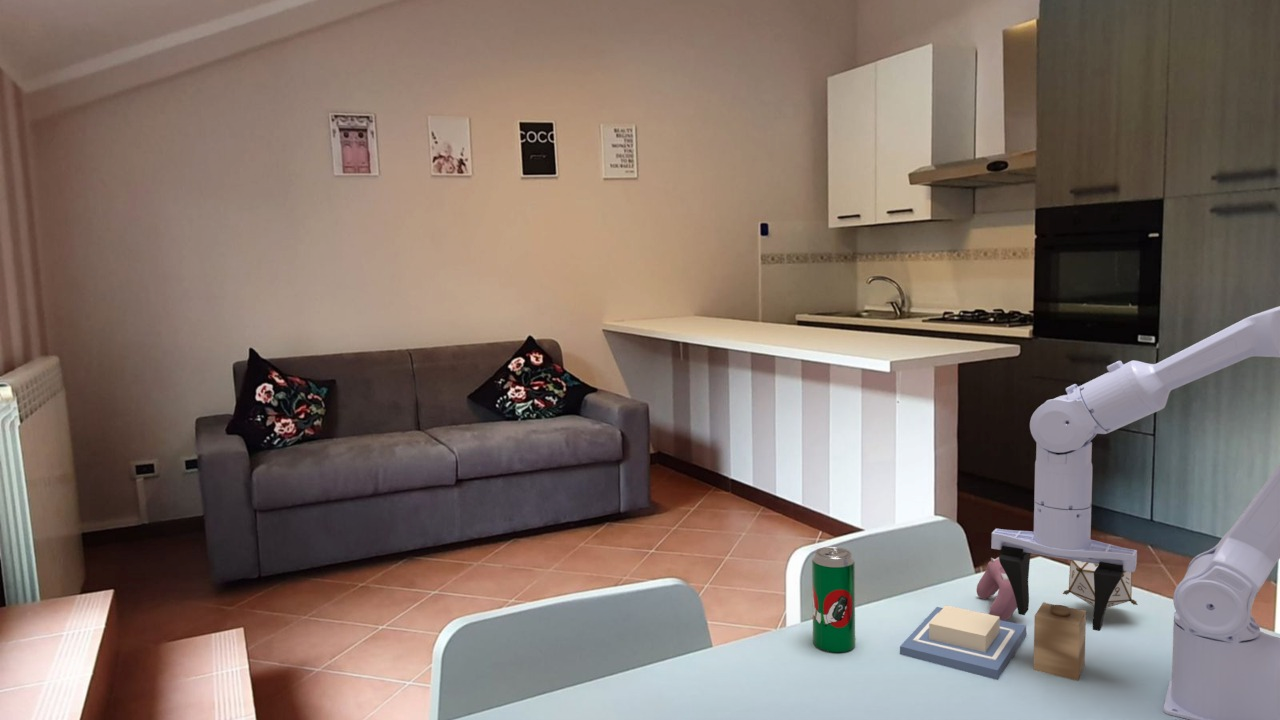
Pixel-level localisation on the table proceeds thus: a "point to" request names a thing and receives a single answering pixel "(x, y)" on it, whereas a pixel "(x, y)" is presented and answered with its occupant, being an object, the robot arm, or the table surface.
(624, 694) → the table surface
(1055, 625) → the oak block
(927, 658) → the blueprint board
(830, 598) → the soda can
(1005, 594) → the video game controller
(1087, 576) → the game die
